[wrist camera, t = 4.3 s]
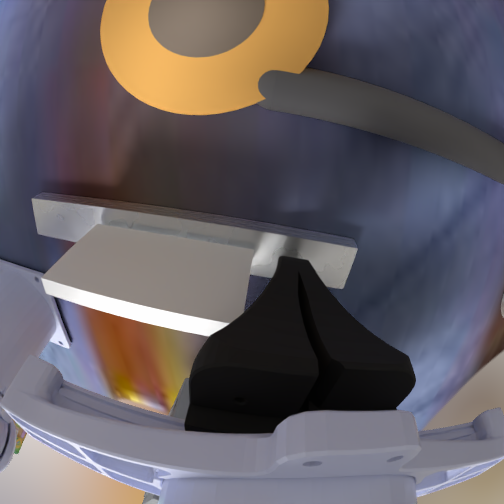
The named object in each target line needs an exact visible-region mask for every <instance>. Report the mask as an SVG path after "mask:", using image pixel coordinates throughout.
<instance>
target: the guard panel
mask: <svg viewBox="0 0 504 504" xmlns="http://www.w3.org/2000/svg"><path fill="white" fill-rule="evenodd" d="M253 253H254V249H248V248H242V247H236V246H230V245H224V244H218V243H212V242H206V241H200V240H194V239H188V238H182V237H176V236H169V235H163V234H157V233H151V232H145V231H139V230H133V229H127V228H121V227H115V226H109V225H102V224H96V225H95V226H94V227H93V228H92V229H91V230H90V231H89V232H87V233H86V234H85V235H84V236H83V237H82V238H81V239H80V240H79V241H78V242H77V243H76V244H74V245H73V246H72V247H71V248H70V249H69V250H68V251H67V252H66V253H65V254H64V255H63V256H62V257H61V258H60V259H59V260H58V261H57V262H56V263H55V264H54V265H53V266H52V267H51V268H50V269H49V270H48V271H47V272H46V273H45V274H44V275H43V276H42V277H41V279H42V282H43V286H44V289H45V292H46V294H49V295H52V296H55V297H58V298H61V299H64V300H67V301H70V302H73V303H77V304H80V305H83V306H86V307H90V308H93V309H97V310H100V311H104V312H107V313H111V314H114V315H118V316H122V317H126V318H129V319H133V320H137V321H141V322H145V323H149V324H154V325H158V326H162V327H167V328H171V329H176V330H180V331H185V332H190V333H195V334H199V335H205V336H210V335H211V334H213V333H215V332H217V331H218V330H220V329H222V328H224V327H225V326H227V325H228V324H230V323H231V322H232V321H234V320H235V319H236V318H238V317H239V316H240V315H241V314H243V313H244V308H245V302H246V296H247V290H248V284H249V277H250V271H251V265H252V259H253Z"/></svg>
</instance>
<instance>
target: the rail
mask: <svg viewBox="0 0 504 504" xmlns="http://www.w3.org/2000/svg"><path fill="white" fill-rule="evenodd" d="M32 205H33V211H34V216H35V222H36V227H37V232H38V234H39V235H44V236H48V237H53V238H58V239H63V240H67V241H72V242H78V241H79V240H80V239H81V238H82V237H83V236H84V235H85V234H86V233H87V232H89V231H90V230H91V229H92V228H93V227H94V226H95V225H96V224H102V225H109V226H115V227H121V228H127V229H133V230H139V231H145V232H151V233H157V234H163V235H169V236H176V237H182V238H188V239H194V240H200V241H206V242H212V243H218V244H224V245H230V246H236V247H242V248H248V249H254V253H253V259H252V265H251V271H250V275H256V276H262V277H268V278H272V277H273V275H274V273H275V271H276V267H277V263H278V258H279V257H280V256H288V257H294V258H300V259H306V260H309V262H310V263H311V265H312V266H313V268H314V269H315V271H316V272H317V274H318V275H319V277H320V278H321V280H322V281H323V283H324V284H325V285H326V287H332V288H338V289H343V288H344V285H345V283H346V280H347V277H348V275H349V272H350V269H351V267H352V264H353V261H354V259H355V256H356V253H357V250H358V247H357V245H356V243H355V241H354V239H353V238H348V237H343V236H337V235H332V234H327V233H321V232H316V231H310V230H305V229H299V228H294V227H288V226H282V225H277V224H271V223H265V222H259V221H253V220H247V219H241V218H234V217H228V216H222V215H215V214H209V213H202V212H196V211H189V210H182V209H175V208H168V207H161V206H154V205H146V204H139V203H131V202H124V201H116V200H108V199H100V198H91V197H83V196H74V195H65V194H55V193H46V192H41V193H39V194H38V195H36V196H35V197H33V198H32Z"/></svg>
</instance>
